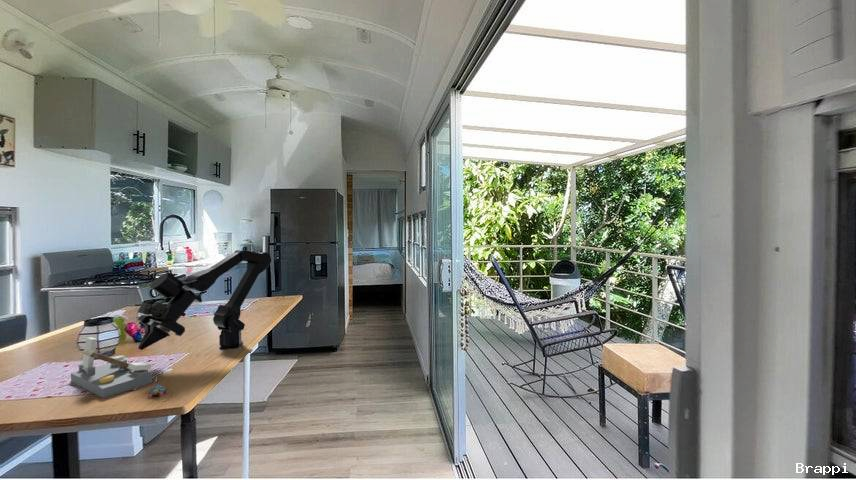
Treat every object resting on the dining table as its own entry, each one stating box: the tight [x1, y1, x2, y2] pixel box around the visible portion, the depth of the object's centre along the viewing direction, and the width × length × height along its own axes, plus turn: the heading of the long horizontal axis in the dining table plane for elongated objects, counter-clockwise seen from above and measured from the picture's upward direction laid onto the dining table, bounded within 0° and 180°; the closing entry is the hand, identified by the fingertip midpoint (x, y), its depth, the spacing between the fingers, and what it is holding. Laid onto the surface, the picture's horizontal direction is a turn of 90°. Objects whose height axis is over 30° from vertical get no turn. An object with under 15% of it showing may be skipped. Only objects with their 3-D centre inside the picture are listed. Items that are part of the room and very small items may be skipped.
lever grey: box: [81, 336, 98, 369], centre depth 103 cm, size 1×4×8 cm, turn 61°
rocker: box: [128, 361, 152, 371], centre depth 102 cm, size 4×4×1 cm
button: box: [111, 355, 125, 366], centre depth 109 cm, size 3×3×2 cm
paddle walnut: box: [83, 350, 129, 368], centre depth 101 cm, size 1×4×11 cm
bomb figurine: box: [147, 375, 167, 400], centre depth 94 cm, size 8×8×6 cm
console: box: [70, 358, 153, 399], centre depth 102 cm, size 11×22×4 cm, turn 61°
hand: (139, 349), depth 108 cm, fingers closed
